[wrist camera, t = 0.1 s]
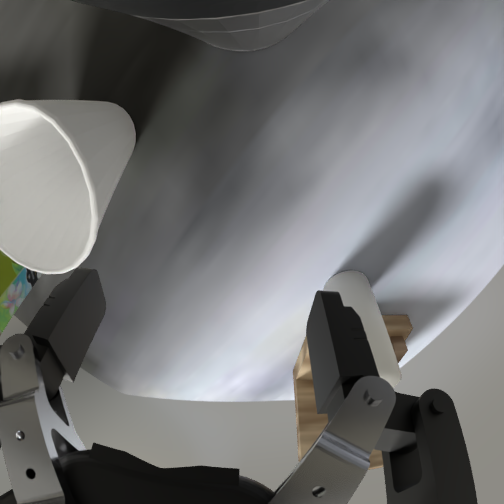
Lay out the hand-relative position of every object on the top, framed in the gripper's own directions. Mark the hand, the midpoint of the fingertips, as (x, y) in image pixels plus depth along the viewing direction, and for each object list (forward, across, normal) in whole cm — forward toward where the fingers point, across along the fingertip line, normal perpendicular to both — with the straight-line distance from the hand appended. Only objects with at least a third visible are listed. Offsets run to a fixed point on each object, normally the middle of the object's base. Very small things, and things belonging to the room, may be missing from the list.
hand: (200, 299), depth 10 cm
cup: (+17, +12, -2) cm, 21 cm away
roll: (+18, -14, +14) cm, 27 cm away
